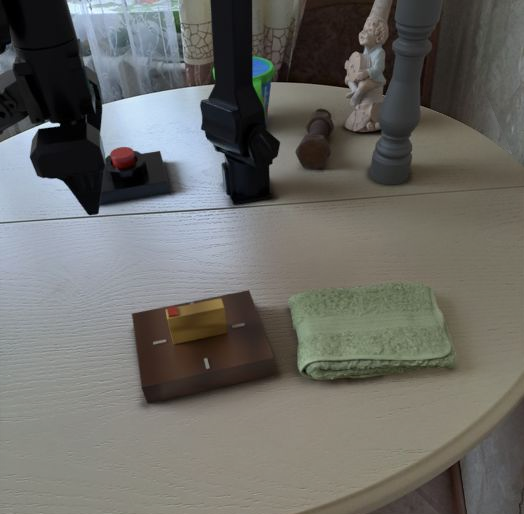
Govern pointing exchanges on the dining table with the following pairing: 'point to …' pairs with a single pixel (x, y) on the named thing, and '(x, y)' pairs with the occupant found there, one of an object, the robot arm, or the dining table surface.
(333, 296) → the washcloth
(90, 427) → the dining table surface
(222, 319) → the lock knob
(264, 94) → the snack cup
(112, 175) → the block
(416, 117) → the candle holder
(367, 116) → the figurine
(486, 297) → the dining table surface
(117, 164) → the release button
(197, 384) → the panel
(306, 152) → the bolt
